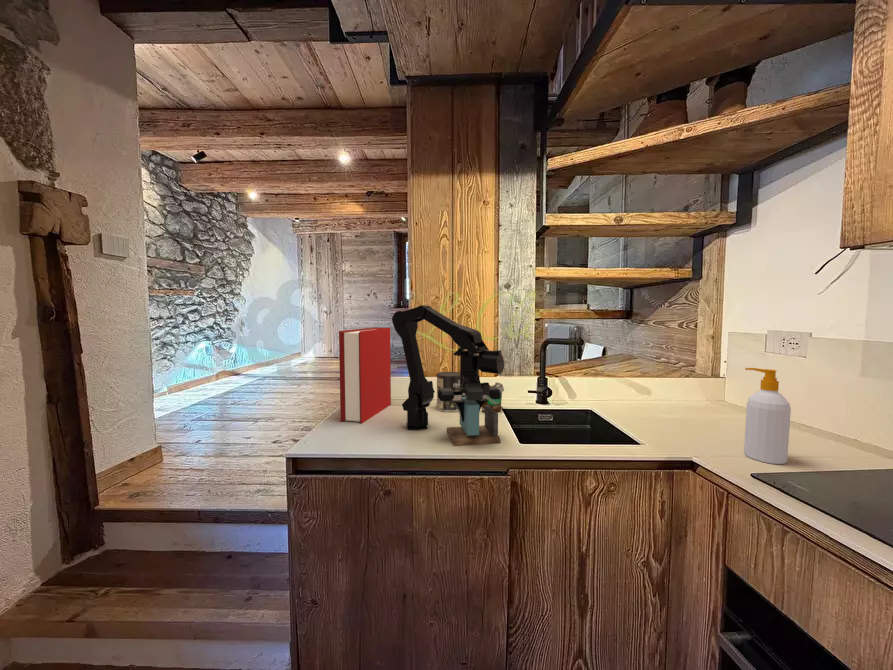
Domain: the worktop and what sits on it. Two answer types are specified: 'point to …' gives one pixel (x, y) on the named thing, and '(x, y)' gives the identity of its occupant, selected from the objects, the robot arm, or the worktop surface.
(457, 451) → the worktop surface
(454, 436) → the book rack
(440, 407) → the coffee can
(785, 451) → the soap bottle
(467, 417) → the teal book
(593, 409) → the worktop surface
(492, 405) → the food container
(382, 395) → the book
